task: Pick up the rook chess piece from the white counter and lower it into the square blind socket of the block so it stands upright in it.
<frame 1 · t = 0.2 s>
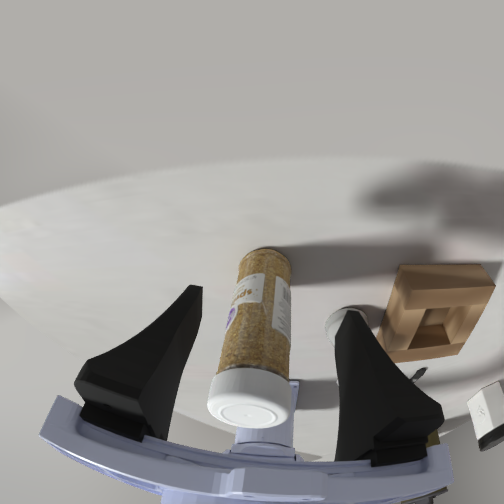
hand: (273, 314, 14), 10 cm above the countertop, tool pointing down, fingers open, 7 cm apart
canister: (416, 432, 45), on the countertop
rook chess piece: (345, 319, 27), on the countertop
sprinkles bottle: (265, 268, 25), on the countertop
bore block: (429, 304, 25), on the countertop
chef's knife: (383, 398, 37), on the countertop
jar: (483, 393, 37), on the countertop
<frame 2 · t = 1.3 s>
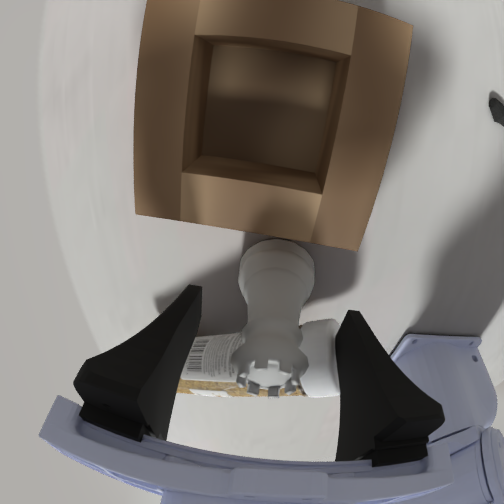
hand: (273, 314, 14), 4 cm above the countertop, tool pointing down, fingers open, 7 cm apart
rook chess piece: (277, 265, 17), on the countertop
sprinkles bottle: (166, 365, 21), point 2 cm above the countertop, touching gripper
bore block: (266, 106, 12), on the countertop
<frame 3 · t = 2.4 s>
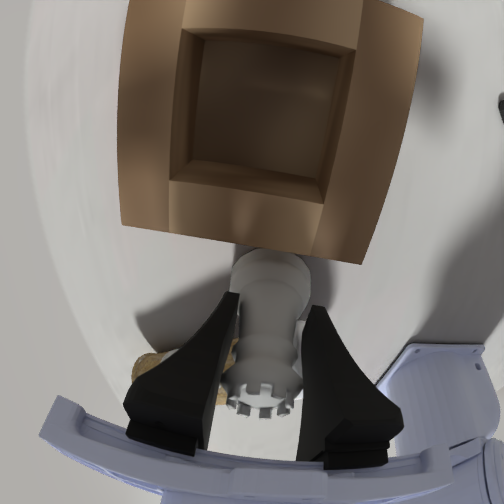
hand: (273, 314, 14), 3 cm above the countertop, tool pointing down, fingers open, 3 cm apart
rook chess piece: (271, 274, 16), on the countertop, touching gripper, sprinkles bottle
sprinkles bottle: (149, 379, 20), point 2 cm above the countertop, touching gripper, rook chess piece
bore block: (263, 105, 11), on the countertop
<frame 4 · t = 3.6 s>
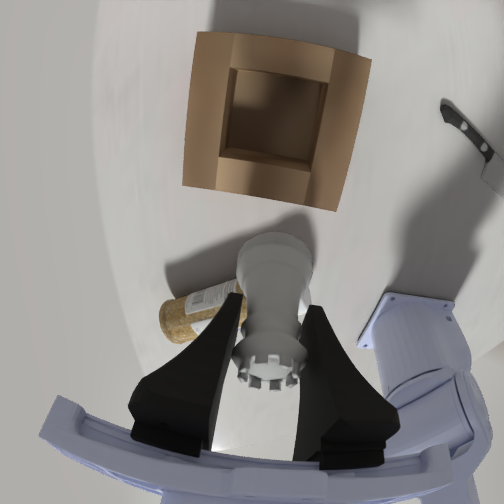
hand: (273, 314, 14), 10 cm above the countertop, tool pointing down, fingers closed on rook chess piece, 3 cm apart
rook chess piece: (274, 257, 17), point 6 cm above the countertop, touching gripper
sprinkles bottle: (171, 322, 27), point 2 cm above the countertop
bore block: (273, 114, 18), on the countertop
chef's knife: (497, 177, 18), on the countertop
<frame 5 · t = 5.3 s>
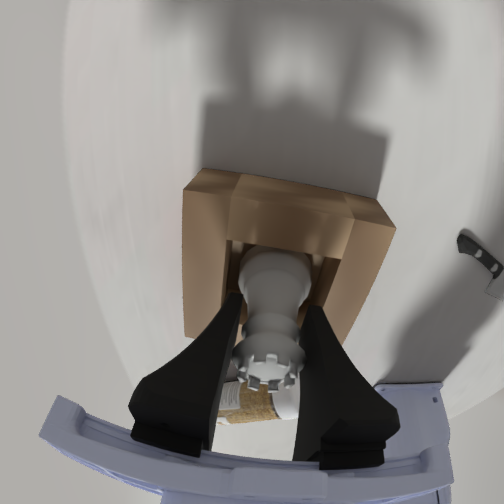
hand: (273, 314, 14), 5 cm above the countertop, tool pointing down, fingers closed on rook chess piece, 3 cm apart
rook chess piece: (276, 266, 18), resting on bore block, touching gripper
sprinkles bottle: (180, 406, 27), point 2 cm above the countertop
bore block: (277, 257, 18), on the countertop
chef's knife: (501, 284, 18), on the countertop
when the fingers open (5 cm above the countertop, at t = 6.1 s): rook chess piece stays where it is, resting on bore block.
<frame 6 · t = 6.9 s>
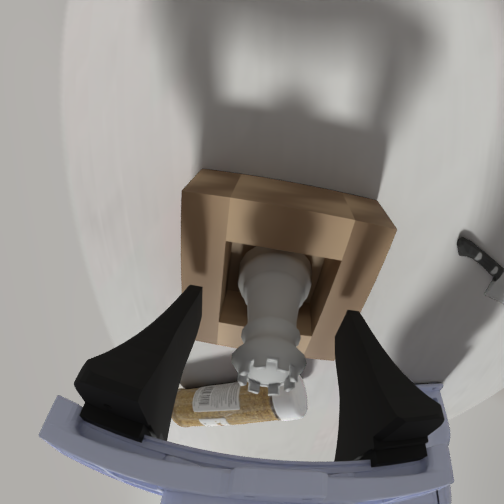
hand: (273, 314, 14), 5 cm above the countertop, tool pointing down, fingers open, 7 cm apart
rook chess piece: (275, 267, 18), resting on bore block
sprinkles bottle: (179, 407, 27), point 2 cm above the countertop
bore block: (276, 258, 18), on the countertop
chef's knife: (501, 286, 18), on the countertop
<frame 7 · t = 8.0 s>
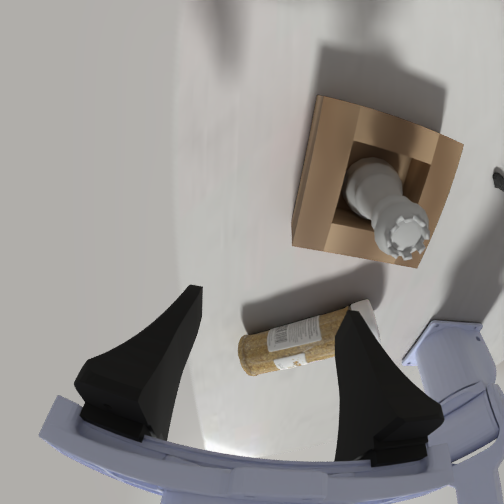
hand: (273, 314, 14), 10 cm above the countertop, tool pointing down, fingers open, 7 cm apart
rook chess piece: (368, 183, 19), resting on bore block
sprinkles bottle: (245, 356, 29), point 2 cm above the countertop
bore block: (368, 176, 19), on the countertop
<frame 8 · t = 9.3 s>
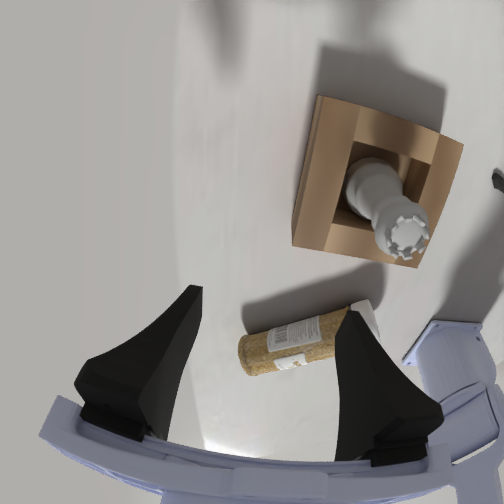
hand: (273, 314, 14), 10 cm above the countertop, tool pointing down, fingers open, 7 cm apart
rook chess piece: (368, 183, 19), resting on bore block
sprinkles bottle: (245, 356, 29), point 2 cm above the countertop
bore block: (368, 176, 19), on the countertop
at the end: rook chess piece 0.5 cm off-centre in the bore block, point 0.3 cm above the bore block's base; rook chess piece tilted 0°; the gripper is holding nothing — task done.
